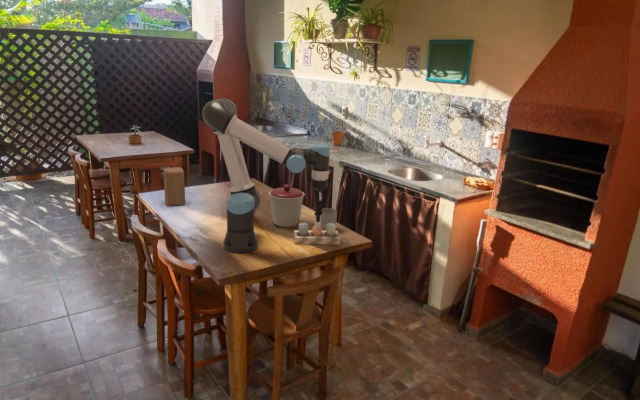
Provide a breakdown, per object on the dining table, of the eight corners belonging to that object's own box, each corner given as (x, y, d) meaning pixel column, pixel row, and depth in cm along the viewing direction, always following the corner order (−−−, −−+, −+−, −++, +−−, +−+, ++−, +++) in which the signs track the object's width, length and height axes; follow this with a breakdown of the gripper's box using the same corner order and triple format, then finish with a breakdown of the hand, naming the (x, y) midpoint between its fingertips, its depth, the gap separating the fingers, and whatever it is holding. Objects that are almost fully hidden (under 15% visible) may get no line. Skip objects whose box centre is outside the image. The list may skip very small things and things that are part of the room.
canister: (261, 225, 229) (261, 185, 223) (280, 216, 245) (281, 178, 239) (291, 232, 221) (293, 191, 215) (309, 222, 237) (311, 183, 231)
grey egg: (298, 235, 210) (299, 225, 208) (298, 232, 214) (298, 222, 212) (308, 235, 210) (308, 225, 209) (307, 232, 214) (307, 222, 213)
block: (164, 201, 258) (163, 167, 252) (182, 200, 262) (181, 166, 256) (167, 206, 249) (165, 171, 244) (185, 205, 254) (184, 170, 248)
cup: (317, 227, 231) (318, 208, 228) (331, 225, 234) (333, 207, 231) (323, 232, 223) (324, 213, 221) (338, 231, 226) (339, 212, 223)
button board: (294, 243, 208) (295, 237, 207) (293, 236, 217) (294, 230, 216) (339, 244, 210) (340, 238, 209) (337, 236, 219) (337, 230, 219)
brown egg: (312, 239, 211) (312, 229, 209) (311, 236, 215) (312, 226, 214) (321, 239, 211) (322, 229, 210) (320, 236, 216) (321, 226, 214)
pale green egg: (326, 236, 211) (327, 226, 210) (325, 232, 215) (325, 222, 214) (335, 236, 212) (336, 226, 210) (334, 232, 216) (335, 223, 214)
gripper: (329, 182, 199) (326, 232, 206) (326, 175, 212) (323, 222, 218) (312, 182, 198) (310, 232, 205) (310, 175, 211) (308, 222, 217)
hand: (317, 227), depth 212 cm, fingers closed
